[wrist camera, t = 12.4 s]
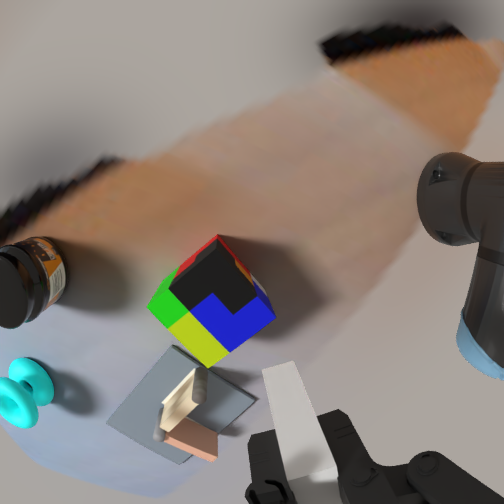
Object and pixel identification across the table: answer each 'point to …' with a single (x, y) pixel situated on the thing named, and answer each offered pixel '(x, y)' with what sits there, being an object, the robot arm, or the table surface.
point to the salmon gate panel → (189, 438)
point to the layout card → (162, 389)
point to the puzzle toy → (212, 303)
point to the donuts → (24, 392)
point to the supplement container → (30, 280)
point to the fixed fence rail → (185, 399)
